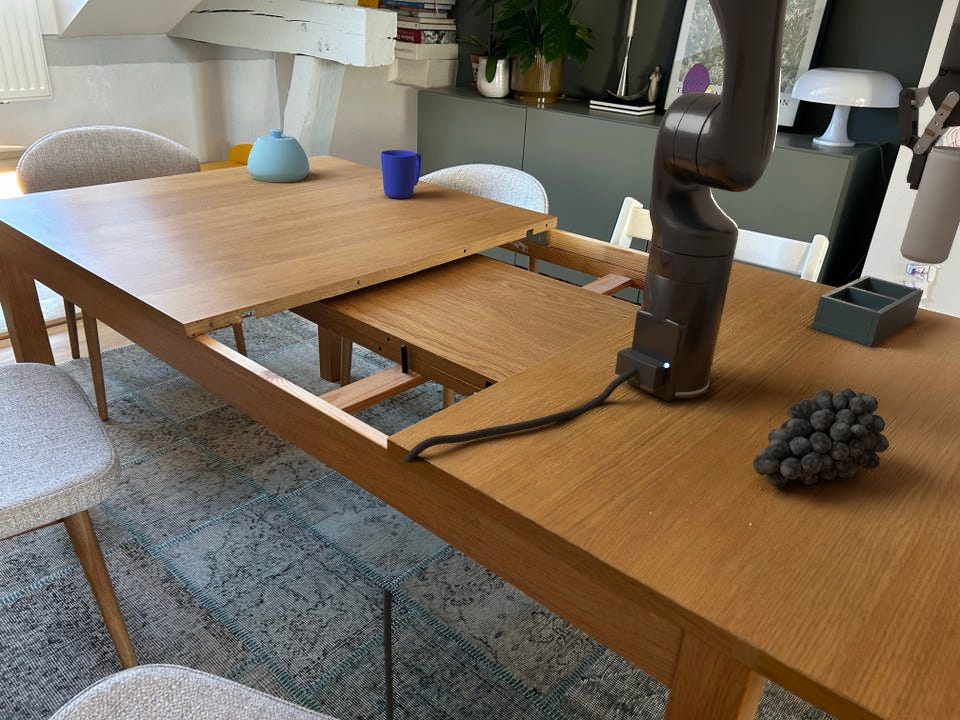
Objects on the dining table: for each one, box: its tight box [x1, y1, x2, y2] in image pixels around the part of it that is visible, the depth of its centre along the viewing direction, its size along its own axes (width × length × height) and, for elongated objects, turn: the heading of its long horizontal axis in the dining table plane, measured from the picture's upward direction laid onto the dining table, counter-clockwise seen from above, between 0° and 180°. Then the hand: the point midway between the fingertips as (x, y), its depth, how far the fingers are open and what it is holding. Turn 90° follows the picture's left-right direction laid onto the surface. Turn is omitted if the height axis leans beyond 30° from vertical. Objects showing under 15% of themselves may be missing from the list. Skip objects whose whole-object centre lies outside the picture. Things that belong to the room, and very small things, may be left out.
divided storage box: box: [811, 274, 924, 348], centre depth 110 cm, size 9×16×5 cm, turn 132°
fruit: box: [752, 387, 890, 488], centre depth 71 cm, size 9×8×15 cm
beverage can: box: [899, 145, 960, 265], centre depth 80 cm, size 5×5×12 cm
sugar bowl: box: [246, 128, 311, 183], centre depth 183 cm, size 15×15×12 cm
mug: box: [380, 149, 422, 200], centre depth 172 cm, size 8×12×10 cm
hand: (942, 193), depth 80 cm, fingers closed on beverage can, 5 cm apart
